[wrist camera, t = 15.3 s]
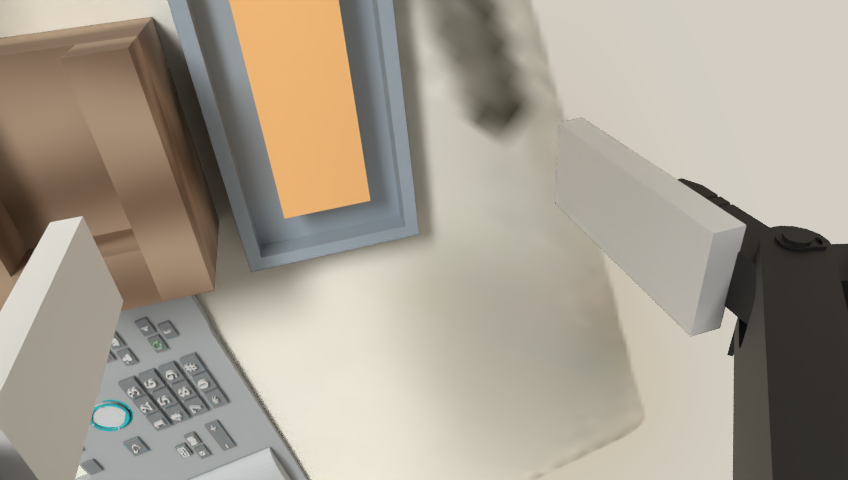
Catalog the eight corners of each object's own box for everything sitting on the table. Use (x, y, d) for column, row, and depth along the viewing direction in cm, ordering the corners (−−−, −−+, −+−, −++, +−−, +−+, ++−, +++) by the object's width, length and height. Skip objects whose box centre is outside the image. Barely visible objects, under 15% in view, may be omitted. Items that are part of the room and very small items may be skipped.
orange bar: (203, -110, 26) (200, -112, 24) (312, -121, 27) (318, -124, 25) (281, 199, 34) (284, 218, 32) (362, 183, 35) (370, 200, 33)
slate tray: (107, -225, 24) (94, -237, 22) (354, -241, 26) (364, -254, 24) (250, 251, 37) (251, 271, 35) (409, 216, 39) (419, 234, 36)
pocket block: (-83, 49, 27) (-181, 93, 21) (152, 16, 29) (127, 47, 23) (32, 260, 33) (-16, 342, 27) (218, 221, 35) (214, 290, 29)
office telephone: (314, 498, 47) (76, 597, 46) (310, 471, 50) (83, 565, 48) (177, 291, 34) (-164, 418, 32) (181, 267, 36) (-139, 386, 35)
